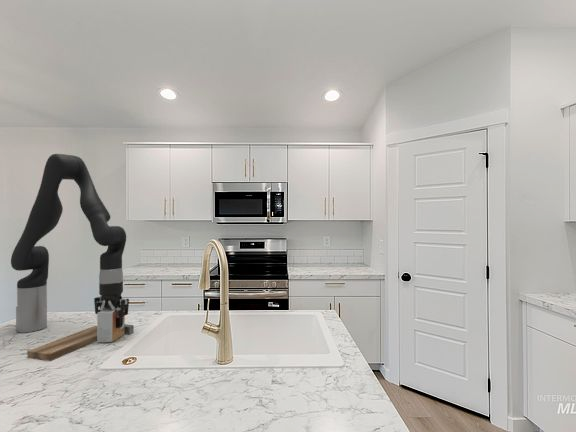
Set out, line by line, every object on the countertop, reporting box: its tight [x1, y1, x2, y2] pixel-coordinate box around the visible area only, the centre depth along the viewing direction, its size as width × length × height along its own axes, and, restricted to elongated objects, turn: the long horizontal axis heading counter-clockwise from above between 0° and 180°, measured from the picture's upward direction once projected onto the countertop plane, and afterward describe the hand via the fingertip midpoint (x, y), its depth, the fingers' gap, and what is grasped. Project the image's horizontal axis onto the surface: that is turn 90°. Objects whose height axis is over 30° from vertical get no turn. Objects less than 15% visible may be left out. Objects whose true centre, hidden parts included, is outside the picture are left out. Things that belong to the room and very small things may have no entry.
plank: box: [26, 325, 97, 362], centre depth 107 cm, size 10×24×2 cm, turn 163°
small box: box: [96, 307, 126, 343], centre depth 111 cm, size 8×6×10 cm
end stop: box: [124, 323, 135, 336], centre depth 117 cm, size 6×2×3 cm, turn 73°
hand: (111, 326), depth 111 cm, fingers closed on small box, 6 cm apart
